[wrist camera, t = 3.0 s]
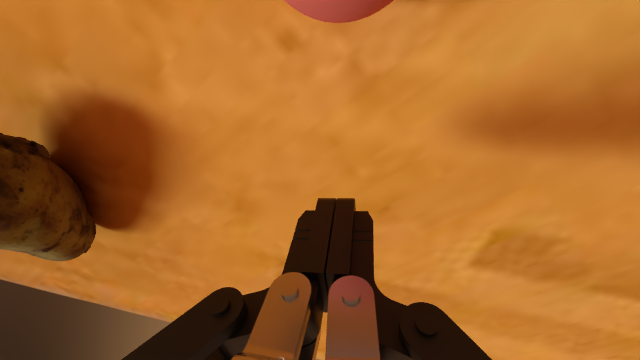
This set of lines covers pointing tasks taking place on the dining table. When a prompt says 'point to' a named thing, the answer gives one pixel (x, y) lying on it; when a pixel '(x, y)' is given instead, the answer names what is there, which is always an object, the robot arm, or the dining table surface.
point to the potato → (40, 204)
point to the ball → (338, 9)
